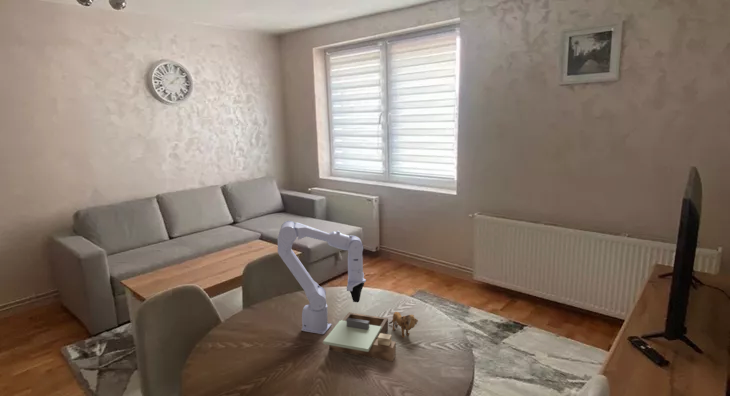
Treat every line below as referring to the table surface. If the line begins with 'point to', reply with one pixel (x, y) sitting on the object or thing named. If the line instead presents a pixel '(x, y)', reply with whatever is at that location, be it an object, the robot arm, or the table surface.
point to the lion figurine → (403, 322)
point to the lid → (353, 334)
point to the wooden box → (376, 349)
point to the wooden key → (384, 339)
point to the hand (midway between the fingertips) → (356, 301)
